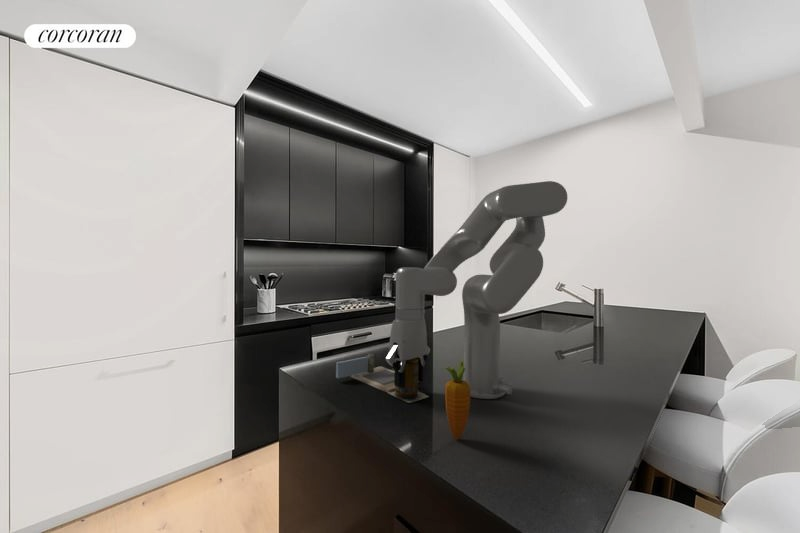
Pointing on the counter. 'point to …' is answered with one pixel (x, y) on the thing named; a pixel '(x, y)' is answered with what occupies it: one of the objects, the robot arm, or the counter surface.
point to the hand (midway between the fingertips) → (408, 382)
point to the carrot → (457, 401)
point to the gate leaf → (351, 367)
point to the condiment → (409, 383)
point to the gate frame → (377, 376)
